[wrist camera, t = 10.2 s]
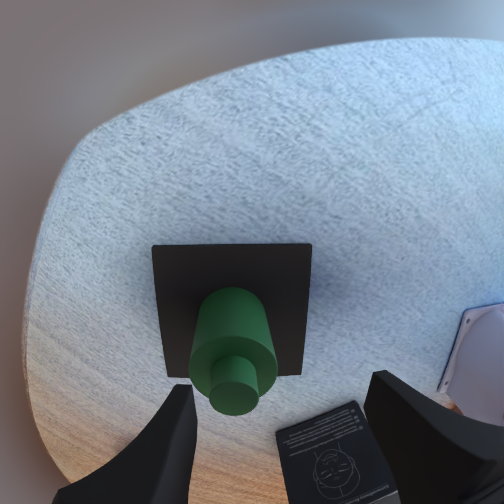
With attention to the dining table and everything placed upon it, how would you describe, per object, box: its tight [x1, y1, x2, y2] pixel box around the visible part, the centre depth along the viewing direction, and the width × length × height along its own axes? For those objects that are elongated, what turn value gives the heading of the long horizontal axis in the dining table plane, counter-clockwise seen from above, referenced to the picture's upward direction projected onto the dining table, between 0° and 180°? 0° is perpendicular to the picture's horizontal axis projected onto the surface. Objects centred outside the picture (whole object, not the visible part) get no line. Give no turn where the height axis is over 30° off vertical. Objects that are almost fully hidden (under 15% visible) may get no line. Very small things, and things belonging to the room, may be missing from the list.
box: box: [275, 401, 401, 504], centre depth 19 cm, size 8×6×11 cm
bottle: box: [189, 287, 278, 416], centre depth 16 cm, size 4×4×8 cm
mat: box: [152, 244, 312, 378], centre depth 20 cm, size 10×10×1 cm
